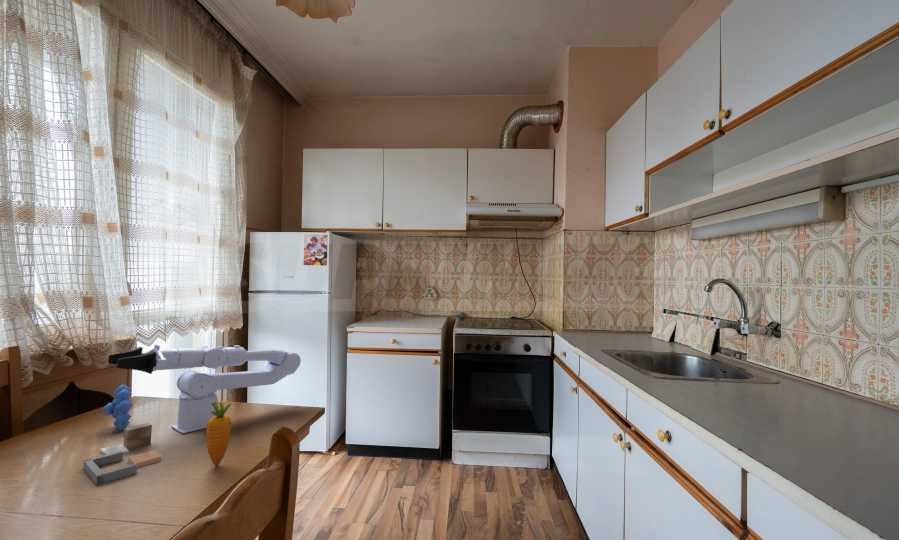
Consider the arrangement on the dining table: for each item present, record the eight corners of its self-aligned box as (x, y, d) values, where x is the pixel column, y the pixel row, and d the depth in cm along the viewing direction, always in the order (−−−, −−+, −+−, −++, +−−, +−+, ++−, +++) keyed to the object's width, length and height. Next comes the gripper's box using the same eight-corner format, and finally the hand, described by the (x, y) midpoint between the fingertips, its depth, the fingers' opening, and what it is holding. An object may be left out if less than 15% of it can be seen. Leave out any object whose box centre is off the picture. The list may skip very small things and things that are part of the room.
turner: (145, 440, 102) (146, 421, 103) (153, 446, 99) (154, 426, 99) (100, 451, 95) (101, 430, 95) (107, 458, 92) (108, 437, 92)
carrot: (233, 463, 91) (237, 399, 92) (214, 472, 87) (218, 405, 87) (218, 459, 93) (221, 396, 93) (198, 468, 88) (202, 402, 89)
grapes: (98, 425, 111) (101, 383, 111) (128, 420, 116) (131, 380, 116) (102, 438, 103) (105, 392, 103) (134, 431, 108) (137, 388, 108)
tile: (153, 456, 94) (154, 450, 94) (161, 462, 91) (161, 456, 91) (127, 463, 90) (128, 457, 90) (134, 470, 87) (135, 463, 87)
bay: (121, 458, 92) (121, 450, 92) (136, 473, 85) (136, 464, 85) (83, 468, 86) (83, 460, 86) (96, 485, 80) (97, 476, 80)
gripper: (167, 341, 113) (107, 342, 102) (187, 347, 105) (124, 348, 94) (163, 365, 112) (103, 369, 102) (183, 374, 104) (119, 378, 93)
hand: (113, 361), depth 98 cm, fingers open, 7 cm apart
